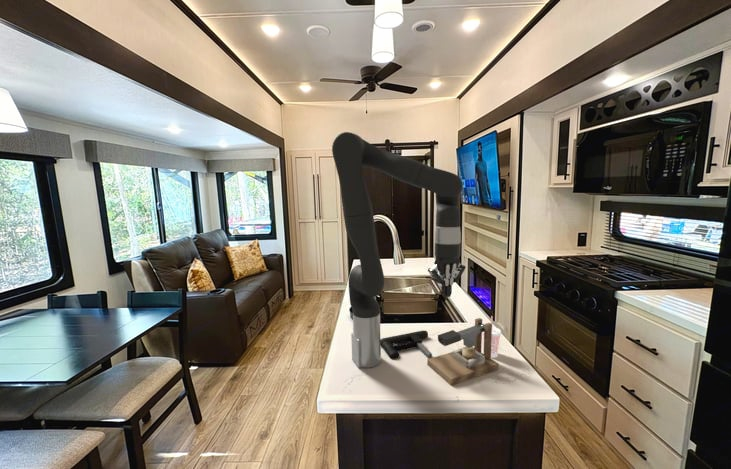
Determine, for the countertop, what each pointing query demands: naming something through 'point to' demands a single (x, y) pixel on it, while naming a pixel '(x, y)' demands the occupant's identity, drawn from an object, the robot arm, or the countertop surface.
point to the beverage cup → (494, 340)
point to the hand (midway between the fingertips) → (446, 296)
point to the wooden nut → (468, 353)
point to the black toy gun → (414, 342)
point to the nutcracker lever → (461, 336)
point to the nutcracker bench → (462, 369)
